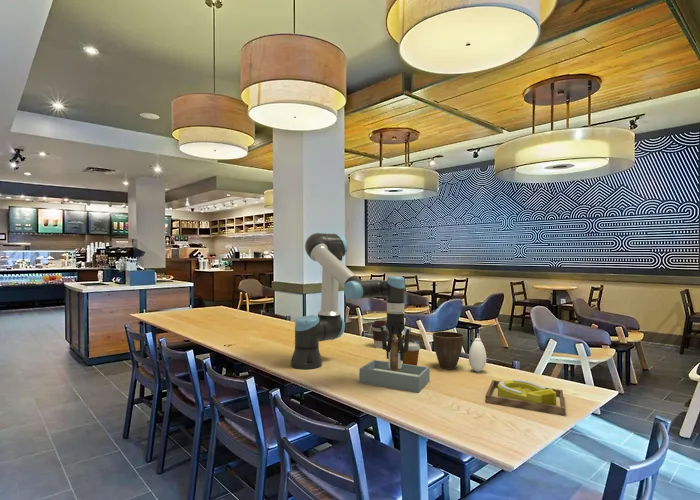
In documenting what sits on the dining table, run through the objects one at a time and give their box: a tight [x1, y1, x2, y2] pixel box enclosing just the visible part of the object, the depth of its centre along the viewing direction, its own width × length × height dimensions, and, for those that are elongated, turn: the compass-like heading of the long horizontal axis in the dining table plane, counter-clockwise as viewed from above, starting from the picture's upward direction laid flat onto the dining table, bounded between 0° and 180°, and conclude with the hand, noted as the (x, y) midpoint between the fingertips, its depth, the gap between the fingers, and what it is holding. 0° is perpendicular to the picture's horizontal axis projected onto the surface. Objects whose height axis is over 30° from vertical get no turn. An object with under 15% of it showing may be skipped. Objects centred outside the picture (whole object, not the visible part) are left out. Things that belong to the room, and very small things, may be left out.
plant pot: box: [432, 331, 465, 370], centre depth 197 cm, size 15×15×16 cm
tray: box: [358, 359, 431, 393], centre depth 173 cm, size 26×16×6 cm, turn 64°
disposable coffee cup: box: [402, 341, 421, 366], centre depth 191 cm, size 10×10×12 cm
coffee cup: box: [371, 320, 389, 349], centre depth 238 cm, size 10×10×15 cm
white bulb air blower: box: [468, 333, 487, 373], centre depth 190 cm, size 8×8×18 cm
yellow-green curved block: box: [497, 378, 557, 406], centre depth 154 cm, size 16×21×5 cm
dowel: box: [390, 340, 400, 371], centre depth 173 cm, size 4×4×12 cm
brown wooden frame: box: [484, 379, 565, 416], centre depth 154 cm, size 26×21×2 cm
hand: (395, 367), depth 173 cm, fingers closed on dowel, 3 cm apart
